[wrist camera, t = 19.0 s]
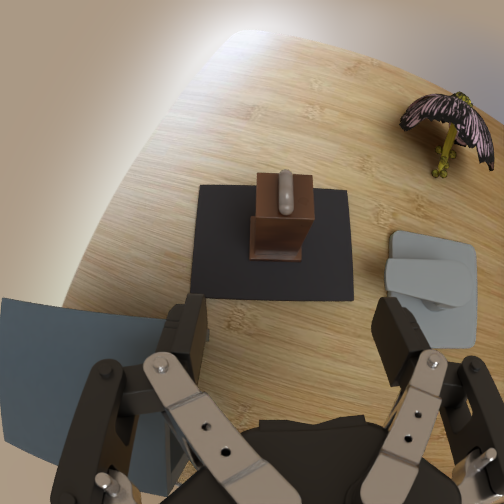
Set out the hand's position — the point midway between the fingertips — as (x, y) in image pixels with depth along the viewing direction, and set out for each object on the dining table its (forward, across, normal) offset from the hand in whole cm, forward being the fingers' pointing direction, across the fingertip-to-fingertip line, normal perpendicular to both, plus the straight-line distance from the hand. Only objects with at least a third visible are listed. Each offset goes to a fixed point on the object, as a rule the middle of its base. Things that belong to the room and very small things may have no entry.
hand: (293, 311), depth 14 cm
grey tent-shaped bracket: (+7, +12, +15) cm, 21 cm away
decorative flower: (+27, -22, -4) cm, 35 cm away
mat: (+17, 0, +5) cm, 18 cm away
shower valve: (+14, -17, +9) cm, 24 cm away
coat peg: (+17, 0, +5) cm, 18 cm away
